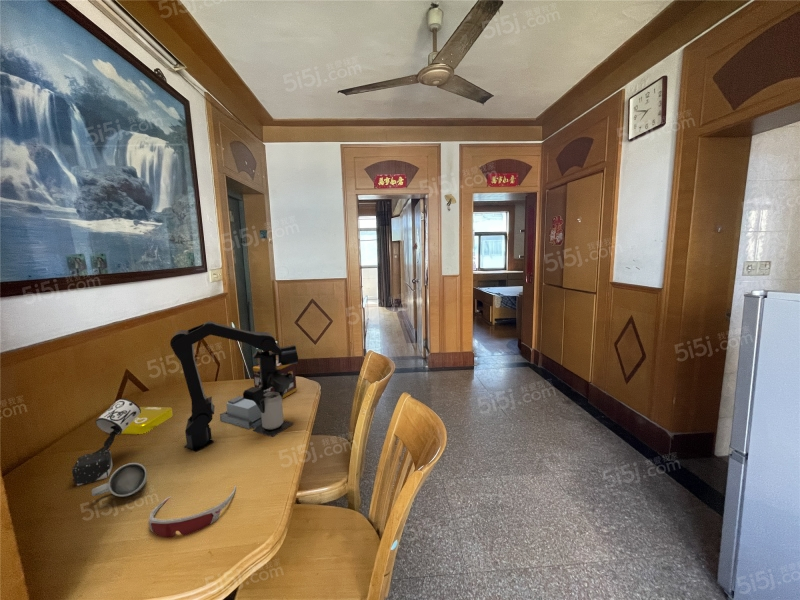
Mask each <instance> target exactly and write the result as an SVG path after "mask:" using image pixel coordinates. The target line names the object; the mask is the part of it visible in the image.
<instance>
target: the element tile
mask: <svg viewBox="0 0 800 600" xmlns="http://www.w3.org/2000/svg"><path fill="white" fill-rule="evenodd" d="M139 407H140V409H141V413H140V414H139V415H138V416H137V417H136V418H135V419H134V420H133V421H132V422H131V423H130V424H129V425H128V426H127V427H126V428H125V430H124V431H123V432H122V433H121V434H120V435H137V434H139V435H144V434H143V433H145V434H147V433H149V432H151V431H152V430H154V429H155V428H154V427H156V426H157V427H158V426H159V425H161V424H162V423H164V422H166V421H167V420H169V419H170V418H172V417H173V416H174V415H173V408H172V407H170V406H169V407H167V406H164V407H163V406H139ZM157 427H156V428H157ZM153 428H154V429H153ZM151 429H152V430H151ZM150 430H151V431H150ZM148 431H149V432H148ZM146 432H147V433H146Z"/></svg>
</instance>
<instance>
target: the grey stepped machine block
mask: <svg viewBox="0 0 800 600" xmlns="http://www.w3.org/2000/svg"><path fill="white" fill-rule="evenodd" d="M226 411H227V414H228V415H231V416H235V417H239V418H242V419H246V420H249V421H252V422H254V421H255V420H257V419H259V418H261V411H260V409H259V408H258V406H257V405H256V403H255V402H254V401H252V400H248V399H244V398H243V395H238V396H236V397H234V398H231V399H229V400H227V402H226Z"/></svg>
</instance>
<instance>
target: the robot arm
mask: <svg viewBox="0 0 800 600" xmlns="http://www.w3.org/2000/svg"><path fill="white" fill-rule="evenodd" d="M209 336H215V337H217V338H218V337H219V338H222V339H228V340H230V341H231V340H232V341H235V342H239V343H244V344H247V345H249V346H252V347H254V348H255V349H256V351H255V352H254V353H252V357H253V359H254V360H255V359H258V363H259V364H258V365H260V371H258V374H260V377H261V381H260V382H258V383H259V385H261V387H260V388H256V387H255V386H252V387H250V388H247V389H245V390H244V391H243V392H242V397H243V398H244V399H248V400H252V401H254V402H255V403H256V405H257V406H258V408H259V409H260V411H261V412H262V413H265V404H264V400H265V398H266V396H264V391H266V390H268V389H271V388H274V390H275V392H278V393H280V396H281V397H282V398H283V394H284V391H285V390H286V389H288V388H289V386H290V384H291V383H293V382H294V380H293V375H292V374H291V373H288V374H284V373H283V374H281V373H280V370H279V369H277V364H276V358H277V359H278V363H281V365H282V366H283V365H289V364H295V365H296V364H298V363H299V356H298V351H297V347H296V345H295V344H293V345H289V346H281V347H280V345H279V344H278V343H276V339H275V337H274V336H273V334H272V333H271V332H267V331H266V332H264V331H249V330H245V329H242V328H236V327H232V326H230V325H225V324H220V323H217V322H215V321H212V320H211V321H210V320H209V321H206V322H204V323H203V324H199V325H197V326H194V327H192V328H190V329H188V330H186V329H182V330H178V331H176V332H175V333H174V335H173V336H172V337H171V339H170V342H169V343H170V344H169V345H170V348H171V349H172V352H173V353H174V355H175V356H176V358H177V359H178V360H179V363H180V365H181V368H182V371H183V374H184V379H185V383H186V386H187V390H188V393H189V397H190V400H191V401H190V402H191V415H190V417H189V418H188V419H187V423H186V425H185V430H184V432H185V433H184V434H185V440H186V445H184V446H183V448H185V449H187V450H190V451H192V452H195V453H196V452H199V451H201V450H203V449H205V448H206V447H208V446H210V445H212V444H214V442H215V440H213V439H212V428H211V427H210V423H211V422H212V421H213V415H215V407H216V406H215V405H214V404H213V396H209V397H207V395H206V394H205V391H204V387H203V383H202V380H201V376H200V372H199V369H198V365H197V362H196V361H197V360H196V358H195V344H196V343H198V342H200V341H201V340H203V339H205V338H207V337H209ZM283 399H284V398H283Z"/></svg>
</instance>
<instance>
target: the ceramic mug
mask: <svg viewBox="0 0 800 600" xmlns="http://www.w3.org/2000/svg"><path fill="white" fill-rule="evenodd" d="M147 475H148V473H147V469H146V466H144V465H143V464H141V463H139V462H129V463H126V464H124V465H121V466H119V467H118V468H117V469H116V470H114V472H113V473H112V474H111V475H110V476H109V477H110V478H109V480H108V481H107V482H106V483H103V484H101V485H98V486H97V487H93V488H92V489H91V496H92V497H94V496H99V495H103V494H106V493H111V494H112V495H113V496H116V497H120V498H121V497H122V498H123V497H129V496H132V495H134V494H136V493H137V492H139V491H140V490H142V489H143V487H144V486H145V484H146V483H147V478H148V477H147Z"/></svg>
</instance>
